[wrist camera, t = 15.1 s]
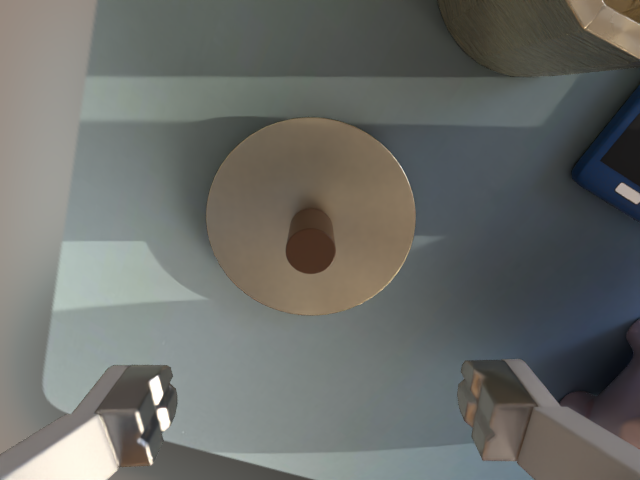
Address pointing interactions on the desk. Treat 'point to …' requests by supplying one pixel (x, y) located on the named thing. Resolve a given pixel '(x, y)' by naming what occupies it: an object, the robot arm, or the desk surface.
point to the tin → (546, 34)
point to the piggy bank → (615, 398)
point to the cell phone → (615, 161)
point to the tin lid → (310, 216)
